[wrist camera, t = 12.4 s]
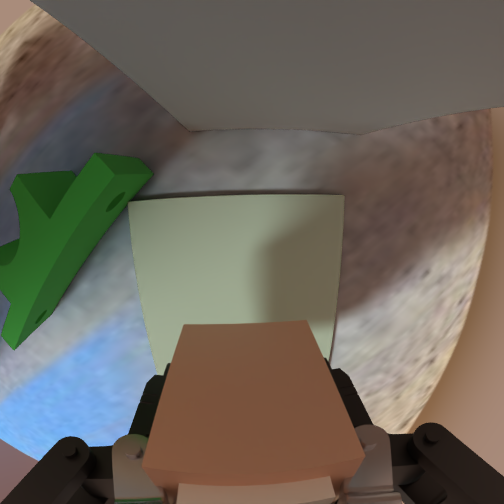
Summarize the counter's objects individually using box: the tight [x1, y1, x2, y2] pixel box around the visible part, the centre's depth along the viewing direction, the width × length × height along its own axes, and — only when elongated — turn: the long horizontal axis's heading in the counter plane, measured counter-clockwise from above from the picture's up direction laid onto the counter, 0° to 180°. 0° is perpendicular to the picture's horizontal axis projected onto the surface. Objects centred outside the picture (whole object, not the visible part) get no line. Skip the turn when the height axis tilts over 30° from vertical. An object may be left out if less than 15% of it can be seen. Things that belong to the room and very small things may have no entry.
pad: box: [128, 194, 345, 375], centre depth 14 cm, size 10×13×1 cm
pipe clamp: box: [0, 153, 154, 350], centre depth 10 cm, size 11×4×5 cm, turn 133°
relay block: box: [142, 320, 365, 504], centre depth 7 cm, size 4×4×8 cm
